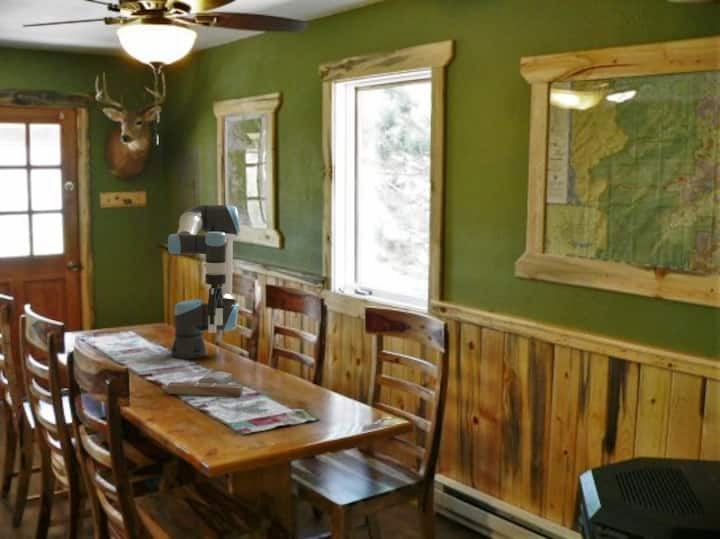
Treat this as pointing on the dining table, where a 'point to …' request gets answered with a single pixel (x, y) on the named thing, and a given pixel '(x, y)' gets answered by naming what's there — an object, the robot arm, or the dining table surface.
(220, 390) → the tan wooden bar
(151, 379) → the dining table surface
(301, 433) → the dining table surface
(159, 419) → the dining table surface
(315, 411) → the dining table surface
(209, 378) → the stone block
